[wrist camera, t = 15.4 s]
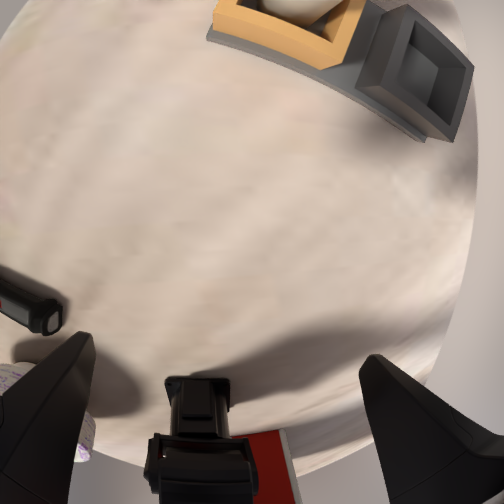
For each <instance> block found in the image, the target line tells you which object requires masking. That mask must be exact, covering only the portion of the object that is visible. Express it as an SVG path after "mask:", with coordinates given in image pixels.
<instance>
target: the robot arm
mask: <svg viewBox="0 0 504 504" xmlns="http://www.w3.org/2000/svg"><path fill="white" fill-rule="evenodd" d="M95 359H96V352H95V347H94V342H93V337H92V335H91V334H90V333H87V332H83V331H78V332H76V333H75V334H74V335H73V336H71V337H70V338H69V339H68V340H66V341H65V342H64V343H63V344H61V345H60V346H59V347H58V348H56V349H55V350H54V351H53V352H51V353H50V354H49V355H48V356H46V357H45V358H44V359H43V360H41V361H40V362H39V363H38V364H37V365H35V366H34V367H33V368H32V369H31V370H29V371H28V372H27V373H26V374H25V375H23V376H22V377H21V378H20V379H19V380H18V381H16V382H15V383H14V384H13V385H12V386H11V387H9V388H8V389H7V390H6V391H5V392H4V393H2V396H1V395H0V504H67V503H68V495H69V488H70V482H71V475H72V470H73V464H74V459H75V454H76V449H77V445H78V440H79V436H80V431H81V427H82V423H83V419H84V415H85V412H86V408H87V404H88V399H89V393H90V386H91V380H92V375H93V369H94V364H95ZM359 380H360V385H361V390H362V395H363V400H364V405H365V410H366V414H367V417H368V421H369V424H370V427H371V431H372V434H373V438H374V442H375V445H376V449H377V453H378V456H379V460H380V464H381V468H382V472H383V476H384V480H385V484H386V488H387V492H388V497H389V502H390V504H504V436H502V435H497V434H494V433H492V432H490V431H489V430H487V429H485V428H484V427H482V426H480V425H479V424H477V423H475V422H474V421H472V420H471V419H469V418H467V417H466V416H464V415H463V414H461V413H460V412H459V411H457V410H456V409H454V408H453V407H451V406H449V404H448V403H446V402H445V401H443V400H442V399H441V398H439V397H438V396H437V395H435V394H434V393H432V392H431V391H430V390H428V389H427V388H426V387H424V386H423V385H421V384H420V383H419V382H417V381H416V380H415V379H413V378H412V377H411V376H409V375H408V374H407V373H405V372H404V371H402V370H401V369H400V368H398V367H397V366H396V365H394V364H393V363H392V362H390V361H389V360H387V359H386V358H385V357H383V356H382V355H380V354H371V355H369V356H368V357H367V359H366V361H365V362H364V364H363V365H362V367H361V368H360V370H359ZM165 388H166V392H167V395H168V399H169V402H170V406H171V423H170V435H162V434H160V433H154V438H152V439H149V442H148V453H147V459H146V463H145V468H144V478H145V479H146V480H147V481H148V482H149V485H150V487H151V491H152V494H159V504H254V502H253V496H257V494H258V490H259V477H258V471H257V467H256V463H255V460H254V457H253V453H252V450H251V446H250V443H249V439H248V437H244V438H230V436H229V426H228V416H227V413H228V412H229V407H230V381H229V380H228V379H172V378H168V379H165ZM163 455H164V456H166V457H163Z"/></svg>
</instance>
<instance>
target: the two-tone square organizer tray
mask: <svg viewBox="0 0 504 504" xmlns="http://www.w3.org/2000/svg"><path fill="white" fill-rule="evenodd" d="M206 39H207V41H211V42H214V43H218V44H221V45H225V46H228V47H231V48H235V49H238V50H241V51H244V52H247V53H250V54H253V55H256V56H258V57H261V58H264V59H266V60H269V61H272V62H274V63H277V64H279V65H282V66H284V67H287V68H289V69H291V70H294V71H296V72H298V73H300V74H303V75H305V76H307V77H309V78H311V79H313V80H316V81H318V82H320V83H322V84H324V85H326V86H328V87H330V88H332V89H334V90H335V91H337V92H339V93H341V94H343V95H345V96H347V97H348V98H350V99H352V100H354V101H356V102H357V103H359V104H361V105H362V106H364V107H366V108H368V109H369V110H371V111H372V112H374V113H376V114H377V115H379V116H381V117H382V118H384V119H385V120H387V121H388V122H390V123H391V124H393V125H394V126H396V127H397V128H399V129H400V130H402V131H403V132H404V133H406V134H407V135H409V136H410V137H412V138H413V139H414V140H416V141H418V142H422V143H425V140H426V138H427V137H431V138H435V139H439V140H443V141H447V142H451V143H453V142H454V139H455V136H456V133H457V130H458V127H459V124H460V121H461V117H462V114H463V111H464V107H465V104H466V100H467V96H468V93H469V89H470V85H471V80H472V76H473V72H474V65H473V64H472V63H471V62H470V61H469V60H468V59H467V58H466V57H465V56H464V54H463V53H462V52H461V51H460V50H459V49H458V48H457V47H456V46H455V45H454V44H453V43H452V42H451V41H450V40H449V39H448V38H447V37H446V36H445V35H444V34H442V33H441V32H440V31H439V30H438V29H437V28H436V27H435V26H434V25H432V24H431V23H430V22H429V21H428V20H427V19H425V18H424V17H423V16H422V15H421V14H419V13H418V12H417V11H416V10H414V9H413V8H412V7H411V6H409V5H408V4H406V5H403V6H401V7H398V8H396V9H393V10H391V11H388V12H386V11H385V10H383V9H382V8H380V7H379V6H377V5H375V4H374V3H372V2H371V1H369V0H343V1H341V2H340V3H339V4H337V5H336V6H335V7H333V8H332V9H331V10H329V11H328V12H327V13H325V14H324V15H323V16H321V17H320V18H319V19H318V20H316V21H315V22H314V23H313V24H311V25H310V26H309V27H307V28H305V29H302V28H300V27H297V26H295V25H293V24H290V23H288V22H285V21H283V20H280V19H278V18H275V17H272V16H270V15H267V14H264V13H261V12H258V9H257V0H219V2H218V4H217V5H216V7H215V9H214V11H213V23H212V25H211V27H210V29H209V31H208V33H207V35H206Z"/></svg>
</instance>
